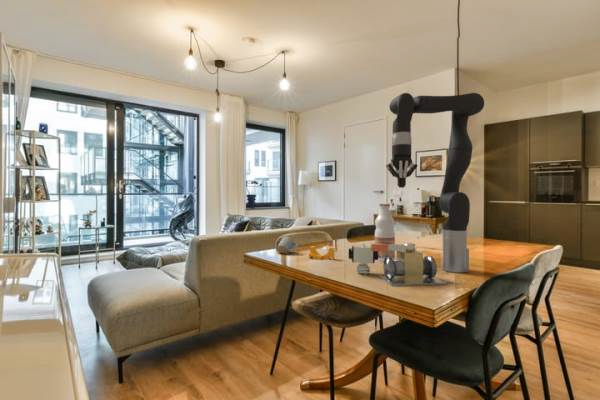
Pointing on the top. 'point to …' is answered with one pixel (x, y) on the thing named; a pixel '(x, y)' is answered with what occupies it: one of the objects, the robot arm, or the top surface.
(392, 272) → the valve body
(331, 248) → the pipe clamp
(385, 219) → the fruit juice
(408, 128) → the robot arm
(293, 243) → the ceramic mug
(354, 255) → the pneumatic valve
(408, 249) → the lever
